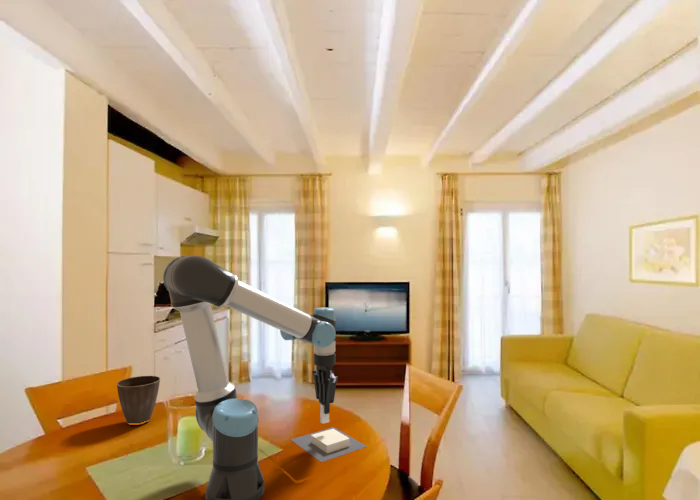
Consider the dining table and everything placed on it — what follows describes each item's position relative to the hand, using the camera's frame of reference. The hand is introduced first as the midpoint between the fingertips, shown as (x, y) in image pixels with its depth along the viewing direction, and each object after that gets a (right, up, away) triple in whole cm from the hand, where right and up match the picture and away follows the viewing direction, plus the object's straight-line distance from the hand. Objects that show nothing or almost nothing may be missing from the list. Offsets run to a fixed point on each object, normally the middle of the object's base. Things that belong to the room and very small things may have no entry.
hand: (324, 422), depth 142 cm
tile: (-1, -5, +1) cm, 5 cm away
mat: (+1, -7, -2) cm, 7 cm away
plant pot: (-73, -8, +18) cm, 75 cm away
